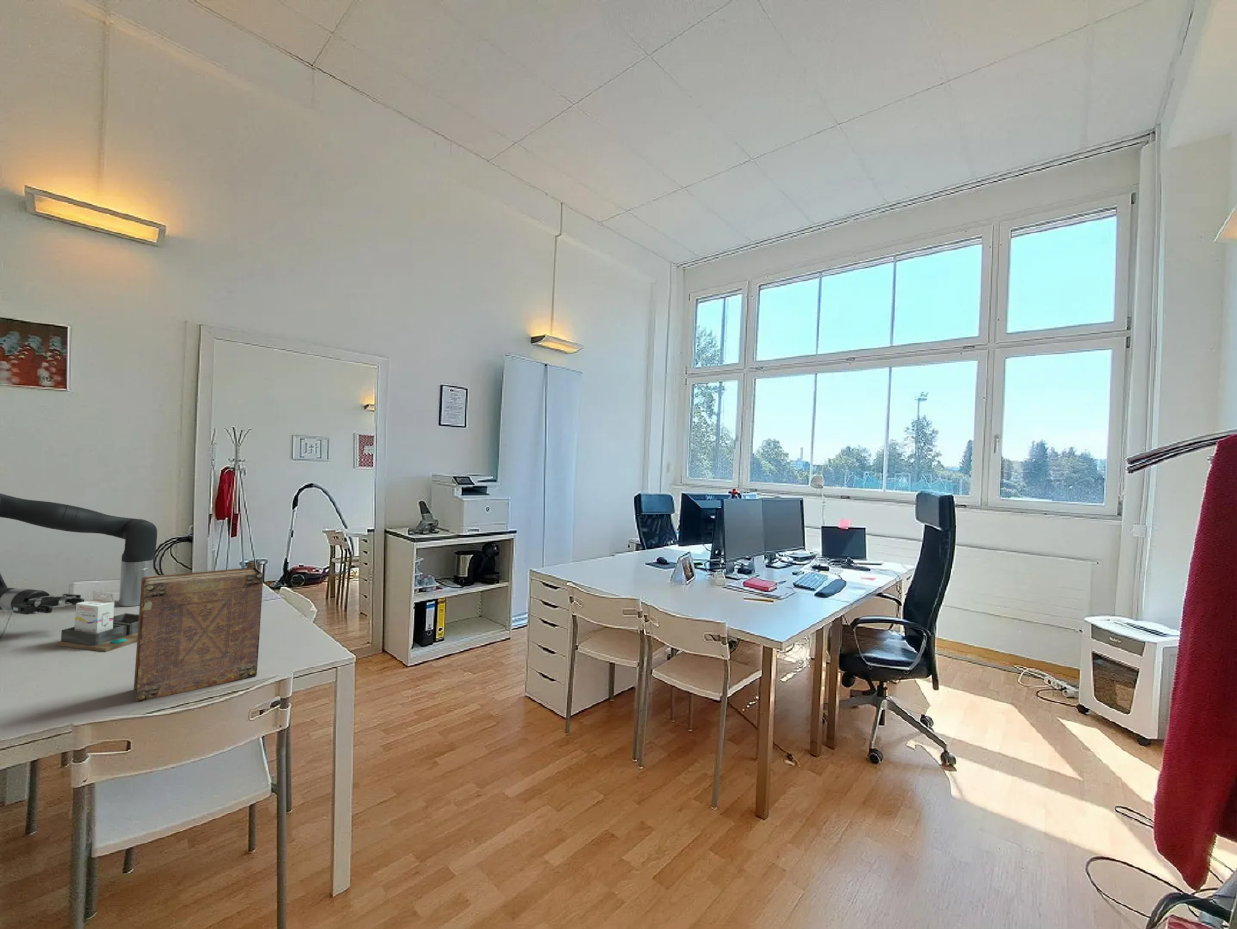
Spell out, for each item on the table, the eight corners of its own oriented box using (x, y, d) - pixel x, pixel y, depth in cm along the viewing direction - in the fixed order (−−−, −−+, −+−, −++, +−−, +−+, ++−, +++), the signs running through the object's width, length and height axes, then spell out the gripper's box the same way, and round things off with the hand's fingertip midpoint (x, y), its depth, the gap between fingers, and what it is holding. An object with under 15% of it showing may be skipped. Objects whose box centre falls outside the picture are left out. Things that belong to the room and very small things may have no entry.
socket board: (127, 625, 175) (128, 612, 175) (172, 630, 173) (172, 617, 173) (56, 645, 155) (57, 631, 155) (106, 651, 153) (107, 637, 153)
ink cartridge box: (72, 640, 157) (75, 593, 157) (90, 634, 162) (93, 590, 162) (95, 643, 156) (98, 596, 156) (113, 637, 161) (116, 592, 161)
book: (135, 703, 125) (142, 584, 125) (133, 689, 132) (140, 577, 132) (257, 676, 144) (263, 573, 143) (250, 665, 150) (256, 566, 150)
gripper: (-4, 595, 156) (39, 600, 154) (52, 584, 170) (93, 588, 168) (-6, 619, 156) (38, 624, 154) (51, 606, 170) (92, 611, 168)
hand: (67, 605), depth 161 cm, fingers open, 8 cm apart
